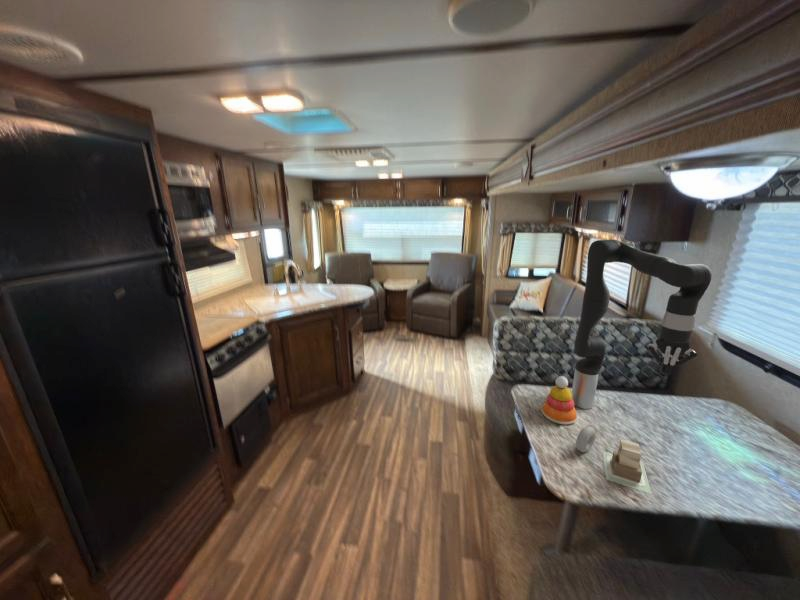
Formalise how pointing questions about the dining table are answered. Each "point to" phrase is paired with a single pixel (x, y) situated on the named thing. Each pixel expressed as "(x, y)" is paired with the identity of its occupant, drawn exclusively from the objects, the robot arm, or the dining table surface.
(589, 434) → the donut
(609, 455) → the build board
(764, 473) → the dining table surface
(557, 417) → the stacking toy
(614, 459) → the walnut block
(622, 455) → the maple block
